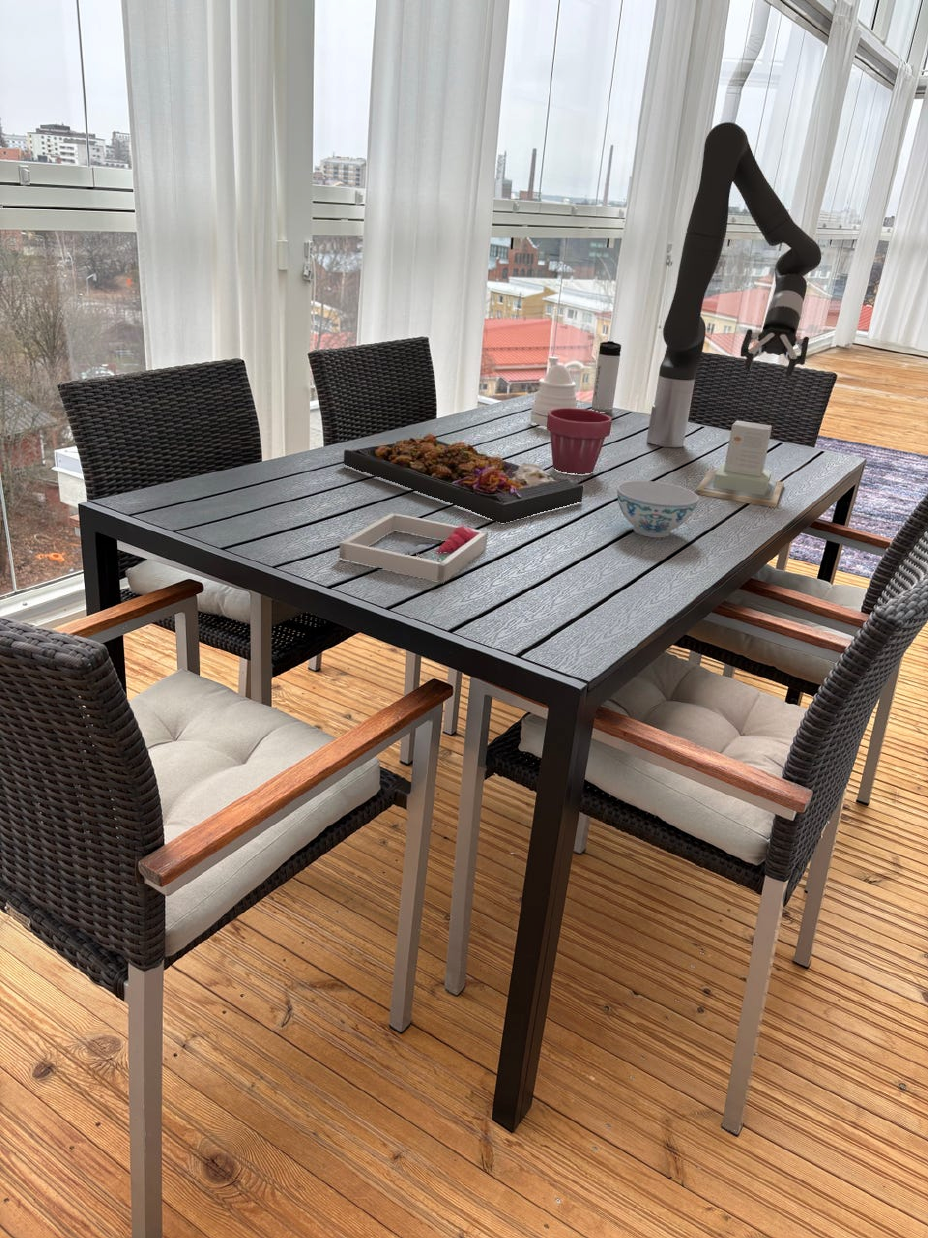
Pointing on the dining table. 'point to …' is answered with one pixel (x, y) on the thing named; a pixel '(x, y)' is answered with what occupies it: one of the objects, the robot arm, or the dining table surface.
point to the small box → (747, 448)
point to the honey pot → (553, 393)
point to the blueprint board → (764, 500)
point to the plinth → (742, 481)
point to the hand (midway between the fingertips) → (767, 373)
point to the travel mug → (606, 376)
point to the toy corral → (410, 565)
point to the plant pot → (577, 438)
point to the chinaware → (655, 506)
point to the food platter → (466, 477)
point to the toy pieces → (455, 540)
